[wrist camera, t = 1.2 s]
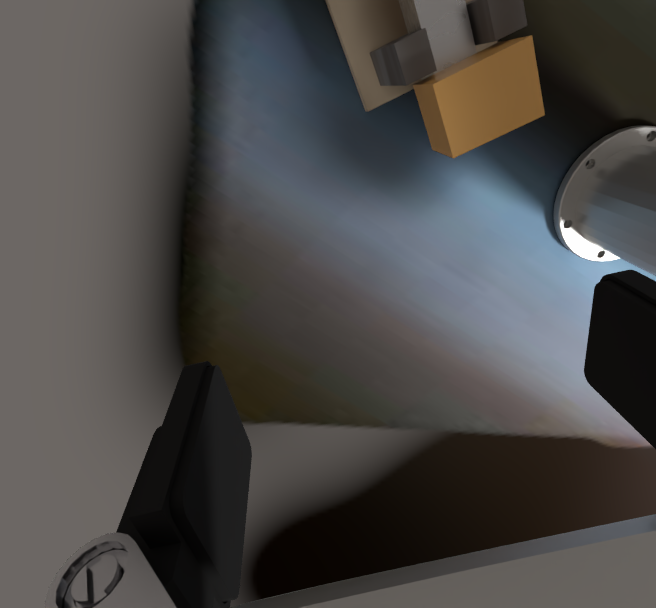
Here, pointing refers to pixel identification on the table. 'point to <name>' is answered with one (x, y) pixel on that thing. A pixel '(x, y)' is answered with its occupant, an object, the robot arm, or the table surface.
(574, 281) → the table surface
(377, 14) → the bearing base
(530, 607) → the robot arm
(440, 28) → the block ended bar
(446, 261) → the table surface
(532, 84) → the block
